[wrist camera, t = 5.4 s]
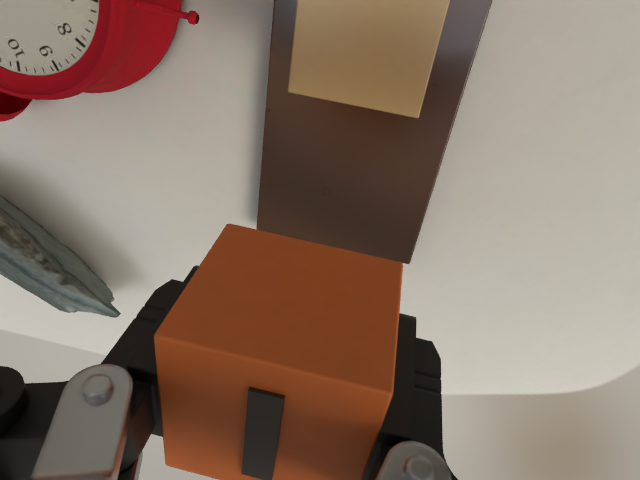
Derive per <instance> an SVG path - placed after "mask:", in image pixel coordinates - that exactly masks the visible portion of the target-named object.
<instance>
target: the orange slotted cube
mask: <svg viewBox="0 0 640 480" xmlns="http://www.w3.org/2000/svg"><path fill="white" fill-rule="evenodd" d="M402 272H403V264H402V263H401V262H398V261H393V260H389V259H384V258H380V257H375V256H371V255H367V254H362V253H358V252H353V251H349V250H344V249H340V248H335V247H331V246H327V245H322V244H318V243H313V242H309V241H304V240H300V239H295V238H291V237H287V236H282V235H278V234H273V233H269V232H264V231H260V230H255V229H251V228H246V227H242V226H238V225H233V224H227V225H226V226H225V228H224V230H223V231H222V233H221V234H220V236H219V237H218V239H217V240H216V242H215V243H214V245H213V246H212V248H211V249H210V251H209V252H208V254H207V255H206V257H205V258H204V260H203V261H202V263H201V264H200V266H199V268H198V269H197V271H196V272H195V274H194V275H193V277H192V278H191V280H190V281H189V283H188V284H187V286H186V287H185V289H184V290H183V292H182V293H181V295H180V296H179V298H178V299H177V301H176V302H175V304H174V305H173V307H172V309H171V310H170V312H169V313H168V315H167V316H166V318H165V319H164V321H163V322H162V324H161V325H160V327H159V328H158V330H157V331H156V333H155V335H154V345H155V355H156V366H157V377H158V388H159V398H160V409H161V420H162V431H163V440H164V452H165V463H166V465H168V466H170V467H174V468H178V469H182V470H186V471H189V472H193V473H197V474H200V475H204V476H208V477H212V478H215V479H219V480H362V477H363V475H364V472H365V469H366V466H367V464H368V461H369V458H370V455H371V453H372V450H373V447H374V444H375V441H376V439H377V436H378V433H379V430H380V429H381V426H382V423H383V421H384V418H385V415H386V412H387V410H388V407H389V404H390V401H391V399H392V396H393V389H394V376H395V363H396V350H397V337H398V324H399V311H400V298H401V285H402Z"/></svg>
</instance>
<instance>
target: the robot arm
mask: <svg viewBox="0 0 640 480" xmlns="http://www.w3.org/2000/svg"><path fill="white" fill-rule="evenodd" d="M198 268H199V266H197V265H196V266H194V267H193V268H192V270H191V271H190V273H189V274H188V276H187V277H186V279H185V280H184V282H181V281H177V280H173V279H172V280H170V281H169V282H167V283H165V284H164V285H162V286H161V287H159V288H158V289H156V290H155V291H154V293H153V294H152V295H151V297H150V298H149V299H148V301H147V302H146V304H145V307H143V308H142V309H141V310H140V312H139V313H138V314H137V317H136V318H134V320H133V321H132V323H131V324H130V325H129V327H128V328H127V329H126V331H125V332H124V333H123V335H122V336H121V337H120V339H119V340H118V342H117V343H116V344H115V346H114V347H113V348H112V350H111V351H110V352H109V354H108V355H107V356H106V358H105V359H104V360H103V362H102V363H101V364H99V365H94V366H91V367H88V368H86V369H83V370H82V371H80V372H78V373H77V374H76V375H74V376H73V377H72V378H71V379H70V380H69V381H65V382H53V383H29V384H25V383H24V380H23V377H22V376H21V374H20V373H19V372H18V371H16V370H14V369H12V368H9V367H3V366H0V480H138V477H139V472H140V467H141V461H142V450H143V448H144V446H145V444H146V442H147V440H148V439H149V437H150V435H151V434H154V435H158V436H162V437H163V431H162V420H161V409H160V398H159V388H158V377H157V366H156V355H155V345H154V335H155V333H156V331H157V330H158V328H159V327H160V325H161V324H162V322H163V321H164V319H165V318H166V316H167V315H168V313H169V312H170V310H171V309H172V307H173V305H174V304H175V302H176V301H177V299H178V298H179V296H180V295H181V293H182V292H183V290H184V289H185V287H186V286H187V284H188V283H189V281H190V280H191V278H192V277H193V275H194V274H195V272H196V271H197V269H198ZM440 378H441V359H440V357H439V355H438V353H437V350H436V348H435V346H434V344H433V342H432V341H427V340H423V339H419V338H416V317H413V316H409V315H404V314H400V313H399V324H398V337H397V350H396V363H395V376H394V389H393V396H392V399H391V401H390V404H389V407H388V410H387V412H386V415H385V418H384V421H383V423H382V426H381V429H380V430H379V433H378V436H377V439H376V441H375V444H374V447H373V450H372V453H371V455H370V458H369V461H368V464H367V466H366V469H365V472H364V475H363V477H362V480H458V479H457V478H456V477H455V476H454V475H453V473H452V472H451V470H450V469H449V467H448V465H447V463H446V460H445V458H444V454H443V446H442V445H443V443H442V403H441V402H442V399H441V380H440Z"/></svg>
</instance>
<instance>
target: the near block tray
mask: <svg viewBox="0 0 640 480" xmlns="http://www.w3.org/2000/svg"><path fill="white" fill-rule="evenodd" d="M491 3H492V0H274V8H273V21H272V34H271V47H270V60H269V73H268V86H267V99H266V112H265V125H264V138H263V151H262V164H261V177H260V190H259V203H258V216H257V230H260V231H264V232H269V233H273V234H278V235H282V236H287V237H291V238H295V239H300V240H304V241H309V242H313V243H318V244H322V245H327V246H331V247H335V248H340V249H344V250H349V251H353V252H358V253H362V254H367V255H371V256H375V257H380V258H384V259H389V260H393V261H398V262H401V263H406V264H409V263H410V261H411V258H412V254H413V251H414V248H415V245H416V242H417V238H418V235H419V232H420V229H421V226H422V223H423V219H424V216H425V213H426V210H427V207H428V203H429V200H430V197H431V194H432V191H433V188H434V184H435V181H436V178H437V175H438V172H439V168H440V165H441V162H442V159H443V156H444V153H445V149H446V146H447V143H448V140H449V137H450V133H451V130H452V127H453V124H454V121H455V118H456V114H457V111H458V108H459V105H460V102H461V98H462V95H463V92H464V89H465V86H466V83H467V79H468V76H469V73H470V70H471V67H472V63H473V60H474V57H475V54H476V51H477V48H478V44H479V41H480V38H481V35H482V32H483V28H484V25H485V22H486V19H487V16H488V13H489V9H490V6H491Z"/></svg>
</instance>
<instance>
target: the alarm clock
mask: <svg viewBox="0 0 640 480" xmlns="http://www.w3.org/2000/svg"><path fill="white" fill-rule="evenodd" d="M181 1H182V0H0V122H1V121H7V120H9V119H12V118H14V117H15V116H17V115H19V114H20V113H21V112H23V111H24V110H25V108H26V107H27V106H28V105H29V103H30V102H31V101H32V99H35V100H40V99H43V100H56V99H64V98H68V97H72V96H75V95H78V94H80V93H82V92H86V93H102V92H110V91H115V90H118V89H121V88H124V87H126V86H129V85H131V84H132V83H134V82H136V81H138V80H139V79H141V78H143V77H144V76H145V75H147V74H148V73H149V72H150V71H152V70H153V69H154V67H155V66H156V65H157V64H158V63H159V62H160V61H161V59H162V58H163V56H164V55H165V53H166V52H167V50H168V48H169V46H170V44H171V42H172V40H173V38H174V35H175V31H176V28H177V25H178V21H179V17H180V18H184V19H187V20H188V22H189V23H190V24H193V25H195V24H197V23H198V21H199V15H198V13H197V12H196V11H190V12H189V13H186V12H182V11H181Z"/></svg>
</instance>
